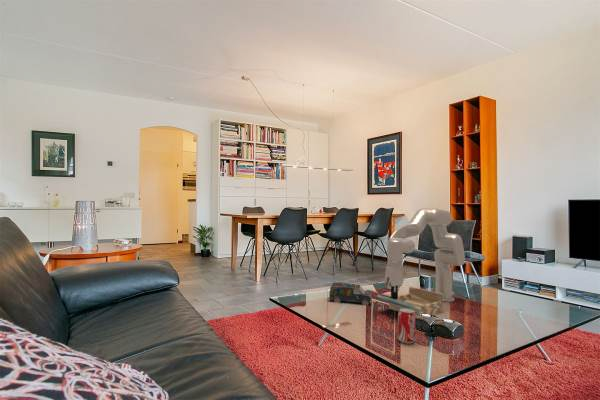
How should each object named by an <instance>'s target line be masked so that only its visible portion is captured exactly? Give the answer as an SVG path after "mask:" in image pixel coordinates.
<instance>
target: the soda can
mask: <svg viewBox="0 0 600 400" xmlns="http://www.w3.org/2000/svg"><path fill="white" fill-rule="evenodd" d="M399 310H400V311H399V312H398V311H397V312H398V314H397V337H396V339H398V342H401V343H403V344H406V345H408V344H409V345H410V344H413V343H414V342H415V341H416V320H417V317H416V315H415V311H414V310H413V309H409V308H400V309H399Z"/></svg>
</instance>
